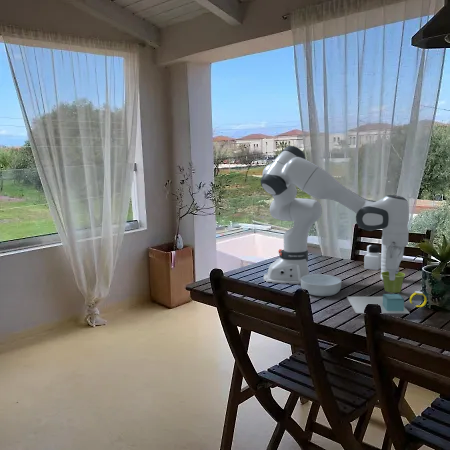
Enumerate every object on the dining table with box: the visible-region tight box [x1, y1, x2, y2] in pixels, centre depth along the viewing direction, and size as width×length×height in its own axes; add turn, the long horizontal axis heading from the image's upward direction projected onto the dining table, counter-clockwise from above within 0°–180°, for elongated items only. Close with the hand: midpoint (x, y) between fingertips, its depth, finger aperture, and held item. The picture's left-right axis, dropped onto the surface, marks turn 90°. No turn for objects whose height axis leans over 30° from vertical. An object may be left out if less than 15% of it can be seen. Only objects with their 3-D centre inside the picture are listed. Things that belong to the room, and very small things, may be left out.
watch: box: [409, 290, 428, 308], centre depth 167 cm, size 6×3×6 cm, turn 87°
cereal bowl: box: [300, 273, 342, 297], centre depth 184 cm, size 17×17×7 cm
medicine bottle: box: [363, 244, 382, 271], centre depth 225 cm, size 7×7×12 cm
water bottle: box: [380, 243, 389, 281], centre depth 204 cm, size 9×6×25 cm
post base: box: [346, 296, 410, 314], centre depth 166 cm, size 19×19×5 cm
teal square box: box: [382, 293, 405, 311], centre depth 162 cm, size 6×6×4 cm
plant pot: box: [380, 271, 406, 294], centre depth 183 cm, size 9×9×9 cm
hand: (394, 276), depth 160 cm, fingers open, 8 cm apart
